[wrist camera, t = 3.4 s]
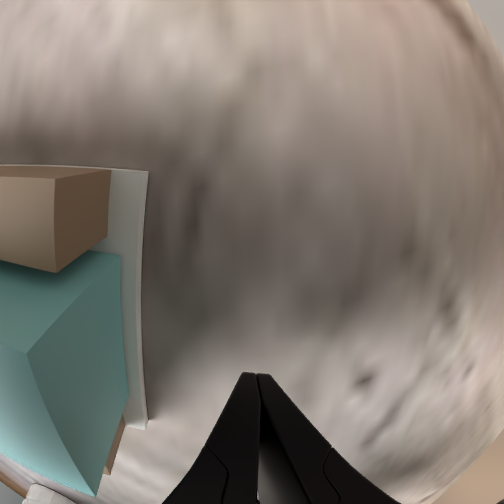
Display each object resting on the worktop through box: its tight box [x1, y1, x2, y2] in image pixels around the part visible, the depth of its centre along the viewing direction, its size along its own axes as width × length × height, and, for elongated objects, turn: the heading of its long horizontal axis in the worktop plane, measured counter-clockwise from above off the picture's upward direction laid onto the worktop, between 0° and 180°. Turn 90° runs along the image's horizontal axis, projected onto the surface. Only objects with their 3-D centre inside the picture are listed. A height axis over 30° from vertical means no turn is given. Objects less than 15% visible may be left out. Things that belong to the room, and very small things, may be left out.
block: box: [0, 250, 129, 497], centre depth 6 cm, size 7×6×5 cm
